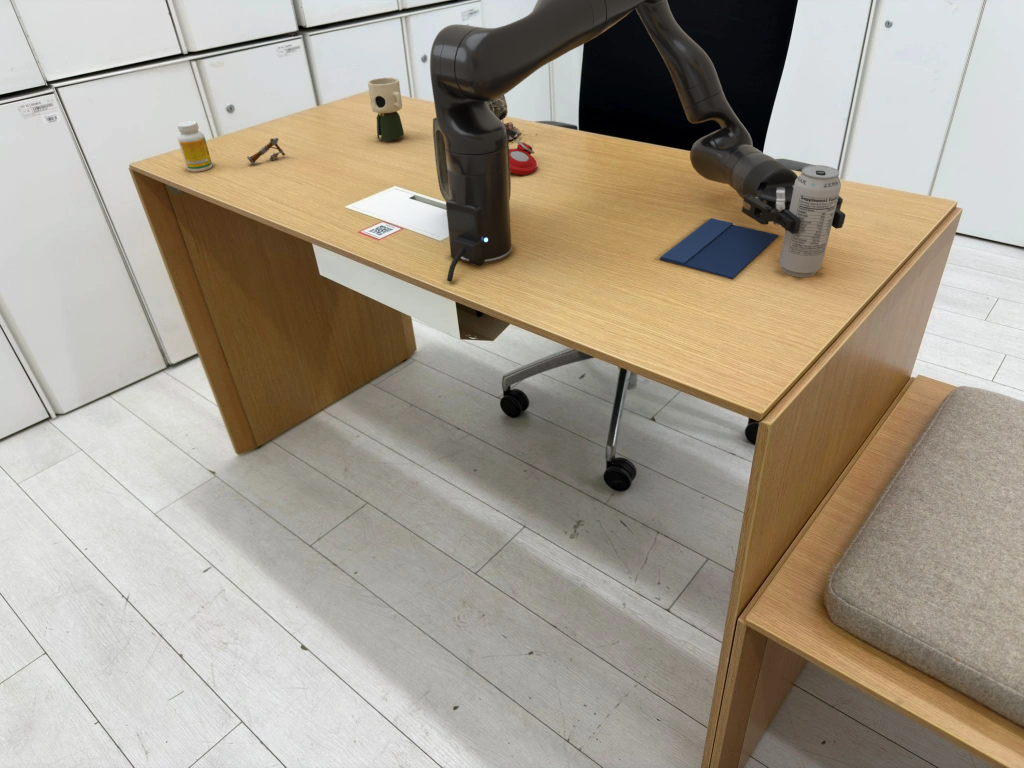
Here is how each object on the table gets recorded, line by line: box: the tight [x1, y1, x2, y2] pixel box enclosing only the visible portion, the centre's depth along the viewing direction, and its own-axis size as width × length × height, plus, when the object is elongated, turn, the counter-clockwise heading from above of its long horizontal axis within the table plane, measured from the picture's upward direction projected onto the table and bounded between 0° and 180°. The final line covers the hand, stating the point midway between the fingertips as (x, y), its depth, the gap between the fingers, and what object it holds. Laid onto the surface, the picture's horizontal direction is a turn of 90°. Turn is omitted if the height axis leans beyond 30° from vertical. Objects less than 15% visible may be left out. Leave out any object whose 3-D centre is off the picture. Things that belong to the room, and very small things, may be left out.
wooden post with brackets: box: [246, 137, 286, 166], centre depth 158 cm, size 2×8×4 cm, turn 126°
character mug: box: [367, 77, 405, 142], centre depth 164 cm, size 11×7×13 cm, turn 47°
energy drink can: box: [778, 164, 842, 278], centre depth 102 cm, size 6×6×15 cm
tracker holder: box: [509, 140, 538, 176], centre depth 148 cm, size 12×4×10 cm
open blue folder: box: [659, 217, 779, 280], centre depth 113 cm, size 18×12×1 cm, turn 142°
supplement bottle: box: [177, 120, 213, 173], centre depth 153 cm, size 5×5×10 cm
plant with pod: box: [486, 94, 521, 142], centre depth 160 cm, size 8×11×20 cm
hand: (819, 224), depth 100 cm, fingers closed on energy drink can, 6 cm apart
